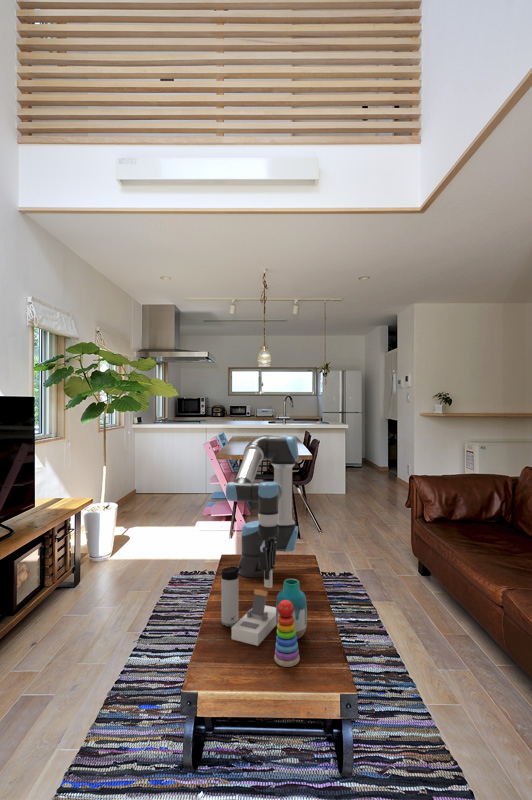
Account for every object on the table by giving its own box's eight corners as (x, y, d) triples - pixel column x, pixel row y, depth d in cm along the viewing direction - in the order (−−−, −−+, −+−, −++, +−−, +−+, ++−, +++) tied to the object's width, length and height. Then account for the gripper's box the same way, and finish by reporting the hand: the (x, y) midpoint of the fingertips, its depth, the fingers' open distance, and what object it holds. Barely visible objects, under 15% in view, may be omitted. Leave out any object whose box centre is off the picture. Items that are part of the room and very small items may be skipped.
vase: (290, 626, 164) (290, 573, 164) (313, 637, 157) (313, 581, 157) (269, 636, 157) (269, 581, 157) (292, 648, 149) (292, 590, 149)
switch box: (257, 614, 174) (257, 598, 174) (281, 619, 169) (281, 603, 169) (231, 639, 155) (231, 621, 155) (257, 645, 151) (257, 627, 151)
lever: (252, 615, 164) (256, 589, 167) (263, 618, 162) (267, 591, 165) (250, 615, 162) (254, 589, 165) (261, 618, 160) (265, 591, 163)
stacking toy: (298, 653, 147) (298, 595, 147) (300, 668, 139) (300, 606, 139) (273, 653, 146) (273, 595, 146) (274, 668, 138) (274, 606, 138)
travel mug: (236, 627, 163) (236, 571, 163) (219, 625, 165) (219, 570, 164) (241, 619, 169) (241, 565, 169) (224, 617, 171) (224, 564, 171)
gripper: (266, 518, 178) (266, 579, 178) (251, 527, 166) (251, 591, 166) (284, 520, 175) (284, 582, 175) (270, 529, 163) (270, 595, 163)
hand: (268, 586), depth 171 cm, fingers closed
